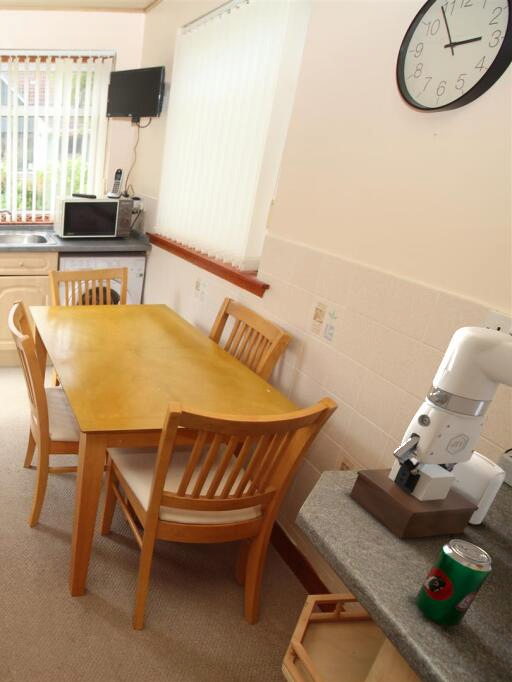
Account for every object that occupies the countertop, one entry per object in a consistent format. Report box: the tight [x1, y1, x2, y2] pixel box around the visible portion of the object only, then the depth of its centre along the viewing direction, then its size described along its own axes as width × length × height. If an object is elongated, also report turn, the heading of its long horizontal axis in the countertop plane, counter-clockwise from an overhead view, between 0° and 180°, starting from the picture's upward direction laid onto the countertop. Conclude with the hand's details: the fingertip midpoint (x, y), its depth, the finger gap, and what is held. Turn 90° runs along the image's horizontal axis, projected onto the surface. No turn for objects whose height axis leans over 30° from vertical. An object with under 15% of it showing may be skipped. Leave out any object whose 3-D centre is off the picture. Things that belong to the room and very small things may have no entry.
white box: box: [389, 457, 456, 501], centre depth 86 cm, size 5×6×5 cm
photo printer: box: [450, 451, 507, 525], centre depth 89 cm, size 10×4×12 cm, turn 14°
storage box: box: [349, 467, 479, 539], centre depth 88 cm, size 13×11×6 cm
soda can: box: [414, 539, 493, 627], centre depth 67 cm, size 5×5×12 cm
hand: (416, 485), depth 86 cm, fingers closed on white box, 5 cm apart
